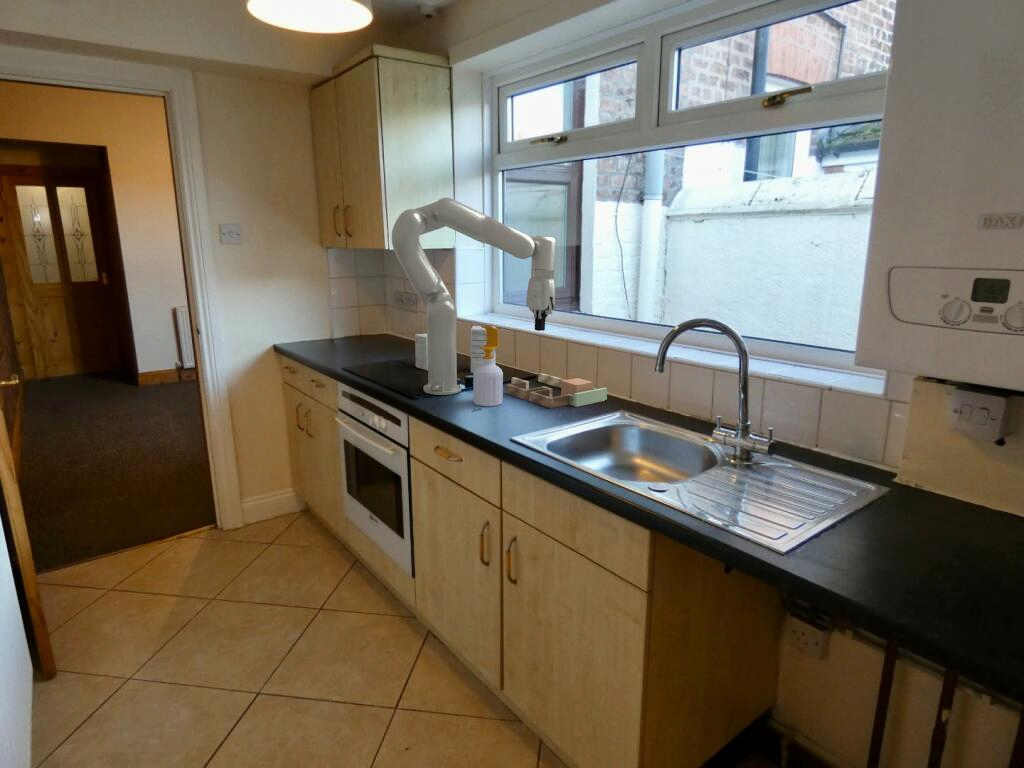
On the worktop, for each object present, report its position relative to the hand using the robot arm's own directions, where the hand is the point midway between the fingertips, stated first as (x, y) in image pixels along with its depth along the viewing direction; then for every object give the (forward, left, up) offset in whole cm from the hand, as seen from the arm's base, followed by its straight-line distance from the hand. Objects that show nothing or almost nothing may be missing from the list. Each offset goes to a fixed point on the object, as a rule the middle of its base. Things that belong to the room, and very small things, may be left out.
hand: (539, 330), depth 210 cm
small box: (+15, +51, -21) cm, 57 cm away
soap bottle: (-23, +9, -21) cm, 32 cm away
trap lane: (-5, -5, -20) cm, 22 cm away
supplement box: (+19, +29, -21) cm, 40 cm away
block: (-7, -16, -21) cm, 27 cm away
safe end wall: (-10, -21, -20) cm, 31 cm away
